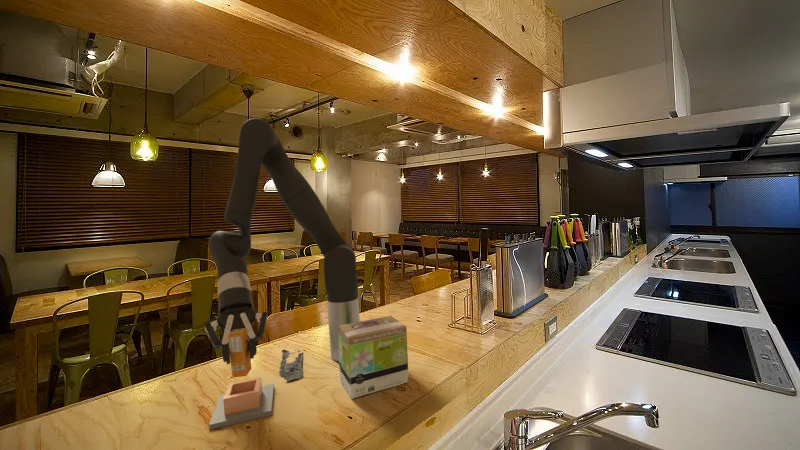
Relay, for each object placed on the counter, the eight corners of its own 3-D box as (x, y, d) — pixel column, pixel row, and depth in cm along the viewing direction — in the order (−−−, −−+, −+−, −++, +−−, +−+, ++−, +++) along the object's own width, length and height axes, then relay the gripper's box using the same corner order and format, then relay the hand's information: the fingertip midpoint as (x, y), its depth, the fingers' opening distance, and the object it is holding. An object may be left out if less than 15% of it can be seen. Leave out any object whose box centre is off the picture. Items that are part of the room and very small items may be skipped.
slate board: (274, 387, 83) (273, 383, 83) (271, 415, 72) (271, 410, 72) (220, 398, 79) (220, 394, 79) (209, 429, 68) (208, 424, 68)
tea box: (351, 401, 75) (347, 337, 74) (339, 381, 84) (336, 324, 84) (410, 383, 82) (407, 324, 81) (393, 366, 91) (390, 313, 90)
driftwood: (303, 382, 86) (303, 374, 86) (275, 387, 84) (275, 379, 84) (304, 351, 106) (304, 344, 106) (282, 354, 104) (281, 348, 104)
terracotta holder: (262, 391, 80) (261, 376, 80) (259, 407, 73) (258, 391, 73) (230, 397, 78) (229, 383, 77) (224, 414, 71) (223, 399, 71)
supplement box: (236, 370, 77) (233, 328, 76) (251, 369, 77) (249, 327, 76) (230, 378, 73) (227, 333, 73) (246, 376, 74) (243, 332, 73)
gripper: (200, 290, 77) (201, 361, 67) (265, 281, 84) (275, 344, 74) (203, 307, 82) (204, 375, 72) (264, 297, 89) (273, 358, 79)
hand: (240, 359), depth 73 cm, fingers closed on supplement box, 4 cm apart
